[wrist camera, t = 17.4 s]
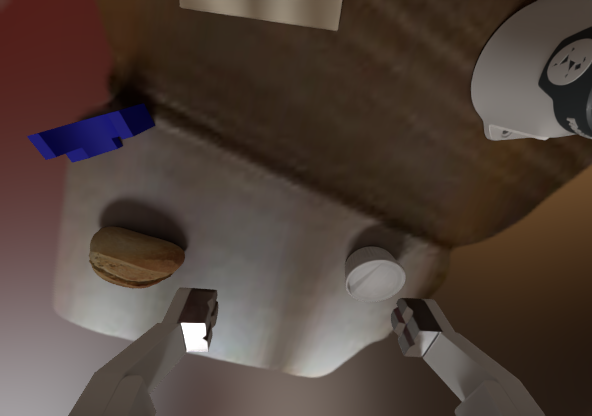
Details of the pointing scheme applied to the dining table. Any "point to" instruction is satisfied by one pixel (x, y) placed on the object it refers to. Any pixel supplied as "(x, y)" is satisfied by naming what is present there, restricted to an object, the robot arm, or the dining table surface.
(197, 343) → the robot arm
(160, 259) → the bread roll
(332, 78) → the dining table surface
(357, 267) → the ramekin
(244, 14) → the board
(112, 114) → the cable clip
